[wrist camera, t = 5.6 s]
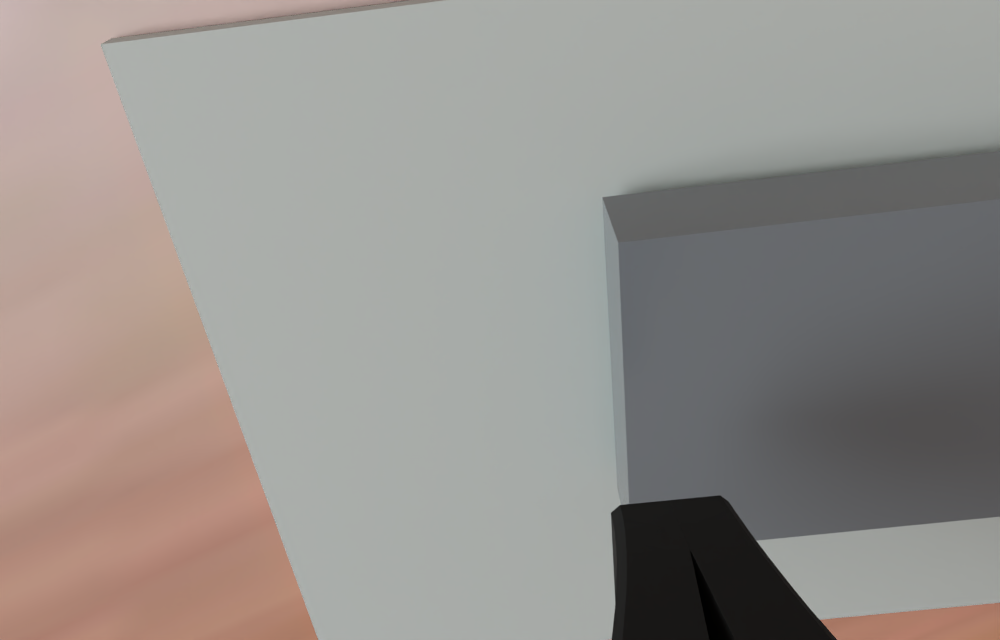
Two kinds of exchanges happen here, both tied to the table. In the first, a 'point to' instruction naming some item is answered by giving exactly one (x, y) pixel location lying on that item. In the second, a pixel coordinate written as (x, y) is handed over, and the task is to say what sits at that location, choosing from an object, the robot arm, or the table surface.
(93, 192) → the table surface
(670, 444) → the glazed tile
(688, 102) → the felt mat
